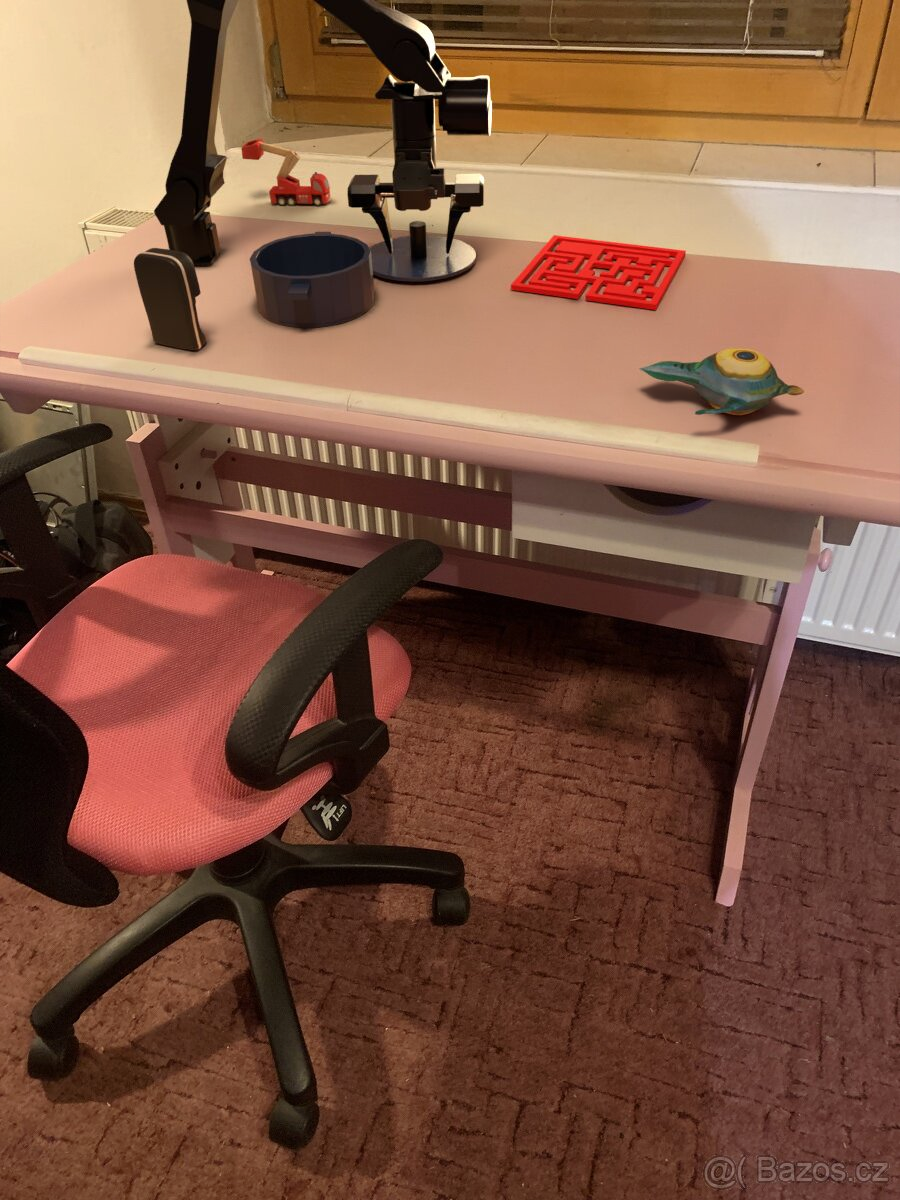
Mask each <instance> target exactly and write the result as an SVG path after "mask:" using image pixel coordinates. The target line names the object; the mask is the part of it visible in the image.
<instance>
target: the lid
mask: <svg viewBox="0 0 900 1200" xmlns="http://www.w3.org/2000/svg"><path fill="white" fill-rule="evenodd" d="M408 228H409V235H406V236H399V237H394V238H393V237H392V239H393V253H392V254H390V253H389V251H388V249H387V246H386V244H385V241H384V240H383V241H380V242H378V243H376V244H373V245H371V246H370V247H369V248H370V250H371V257H372V270H373V276H374V275H375V276H377V277H380V278H384V279H387V280H392V281H397V282H398V281H399V282H430V281H431V282H432V281H437V280H443V279H448V278H452V277H454V276H455V277H456V276H457V275H460V274H462V273H464V272H466V271H468V270H470V268H472V267H473V266H474V265H475V263H476V261H477V253H476V250H475V249H474V248H473V247H472V245H470V244H468V243H467V242H464V241H463V240H460V239H457V238H453V241H452V245H451V248H450V252H449V254H447V253H446V239H447V236H441V235H429V234H428V235H427V223H426V222H425V221H422V220H415V221H411V222H409V224H408Z"/></svg>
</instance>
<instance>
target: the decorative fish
mask: <svg viewBox="0 0 900 1200" xmlns="http://www.w3.org/2000/svg"><path fill="white" fill-rule="evenodd" d="M638 370H640V371H643V372H644V373H645V374H647V375H648V376H650V377H651V378H653V379H655V380H659V381H664V382H680V383H683V384H686V385H689V386H691V387H693V388H694V389H695V390H696V392H697V393H698V394H699V396H701V398H702V399H703V400H704V401H706V402H707V403H708V404H709V405H710V406H711V407H712V408H713V409H712V408H711V409H710V408H709V409H705V408H704V409H703V408H702V409H698V410H696V411H695V412H694V414H695V415H696V416H700V415H705V414H706V415H710V414H711V415H712V414H715V415H716V414H721V413H722V414H723V413H725V414H727V415H732V416H745V415H748V414H751V413H753V412H756V411H758V410H760V409H762V408H764V407H765V406H767V405H768V404H769V403H770V402H771V401H772V400H773V399H774V398H776V397H779V396H782V395H790V396H799V395H803V394H804V393H805V391H804V389H803V388H801V387H799V386H798V385H793V384H792V385H791V384H790V385H788V384H787V383H786V382H784V381H783V380H782V379H781V378H780V377H779V376H778V372H777V370H776V368H775V367H774V365H773V363H772V362H771V361H770V360H769V359H768V358H767V357H766V356H765V355H764V354H762V353H761V352H759V351H757V350H754V349H747V348H732V347H731V348H726V349H722V350H720V351H718V352H715V353H712V354H711V355H708V356H706V357H705V358H703V359H702V360H701V361H693V362H682V361H675V360H674V361H673V360H664V361H663V360H662V361H660V362H655V363H653V364H650V365H647V366H644V367H640V368H638Z"/></svg>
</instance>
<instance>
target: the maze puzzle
mask: <svg viewBox="0 0 900 1200" xmlns="http://www.w3.org/2000/svg"><path fill="white" fill-rule="evenodd" d="M558 243H559V244H558ZM557 244H558V245H557ZM556 246H557V247H556ZM555 247H556V248H555ZM554 248H555V249H554ZM553 249H554V251H552V250H553ZM686 252H687V250H684V249H673V248H666V247H657V246H650V245H641V244H634V243H623V242H617V241H616V242H615V241H607V240H598V239H591V238H590V239H589V238H581V237H575V236H574V237H573V236H572V237H571V236H566V235H565V236H564V235H555V234H554V235H553V236H552V237H550V239H549V240H548V241H547V242H546V244H545V245H544V246H543V247H542V248H541V249H540V251H538V252H537V254H536V255H535V256H534V257H533V259H531V261H530V262H529V263H528V264H527V265H526V266H525V268H524V269H523V270H522V271H521V273H519V275H518V276H517V277H516V278H515V279H514V281H512V283H510V291H518V292H526V293H533V294H537V295H538V294H539V295H547V296H554V297H561V298H568V299H574V300H575V299H576V300H578V299H579V298H580V297H581V296H582V295H583V293H584V292H585V290H586V288H587V287H588V284H592V285H591V286H590V288H589V289H588V291H586V293H585V294H584V301H589V302H596V303H597V302H598V303H602V304H603V303H604V304H611V305H618V306H625V307H632V308H633V307H634V308H639V309H646V310H653V311H656V310H657V308H658V306H659V305H660V303H661V301H662V299H663V297H664V296H665V294H666V292H667V290H668V289H669V287H670V284H671V282H672V281H673V279H674V277H675V275H676V273H677V272H678V269H679V268H680V266H681V264H682V262H683V260H684V258H685V257H686V255H687V254H686ZM604 254H605V256H604V257H603V260H600V259H601V258H602V256H603V255H604ZM670 257H674V258H670ZM544 259H546V260H545V261H544ZM585 259H587V261H586V263H585V264H584V265H583V267H582V268H581V270H580V271H579V272H578V273H577V271H578V270H579V269H580V267H581V265H582V264H583V263H584V262H585ZM613 260H616V261H613ZM569 262H572V263H571V264H569ZM632 262H634V263H636V264H632ZM541 263H542V265H541ZM540 265H541V266H540ZM553 265H554V267H553ZM653 265H655V267H654V266H653ZM539 266H540V267H539ZM538 267H539V268H538ZM552 267H553V270H552V269H551V268H552ZM665 267H668V270H667V271H666V273H665V275H664V276H663V278H662V280H661V281H660V283H659V285H658V286H655V285H656V283H657V281H658V280H659V278H660V276H661V275H662V272H663V271H664V269H665ZM537 268H538V269H537ZM593 268H596V269H597V268H598V269H607V270H609V271H600V273H599V275H598V276H597V275H596V270H594V269H593ZM536 269H537V270H536ZM534 271H536V272H535V273H534ZM620 271H621V272H622V273H621V275H620V276H619V277H618V278H616V277H617V275H618V274H619V272H620ZM533 273H534V274H533ZM532 274H533V275H532ZM531 275H532V276H531ZM646 275H649V277H648V278H647V279H645V277H646ZM530 277H531V278H530ZM529 278H530V279H529ZM543 278H545V280H543ZM528 279H529V280H528ZM527 280H528V281H527ZM526 281H527V282H528V283H525V282H526ZM628 281H631V282H630V284H629V285H626V284H627V282H628ZM603 286H605V288H604V289H603V291H602V293H599V291H600V290H601V288H602V287H603ZM571 287H574V289H571ZM639 288H642V289H641V290H640V293H639V292H637V290H638V289H639ZM647 297H648V298H649V297H650V298H651V300H647Z"/></svg>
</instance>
